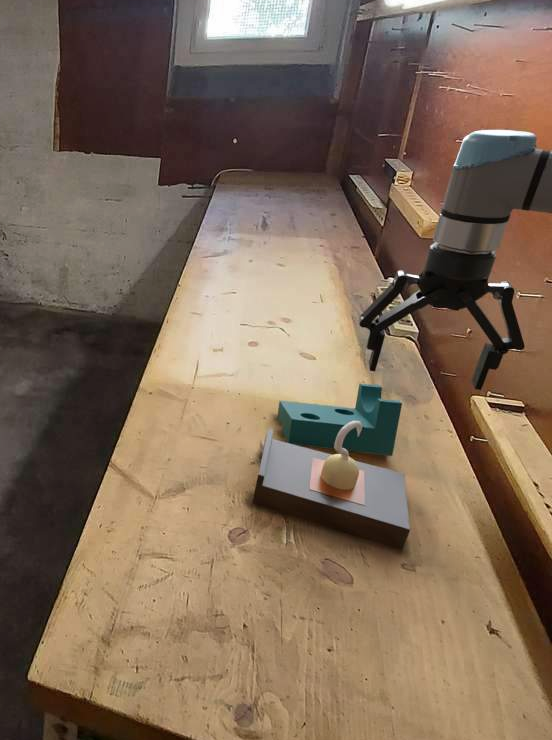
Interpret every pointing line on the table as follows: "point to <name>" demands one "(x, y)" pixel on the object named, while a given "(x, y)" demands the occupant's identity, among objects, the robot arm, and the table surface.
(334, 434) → the teal l-shaped bracket
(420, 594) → the table surface
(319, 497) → the shelf
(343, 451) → the hook
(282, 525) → the table surface
